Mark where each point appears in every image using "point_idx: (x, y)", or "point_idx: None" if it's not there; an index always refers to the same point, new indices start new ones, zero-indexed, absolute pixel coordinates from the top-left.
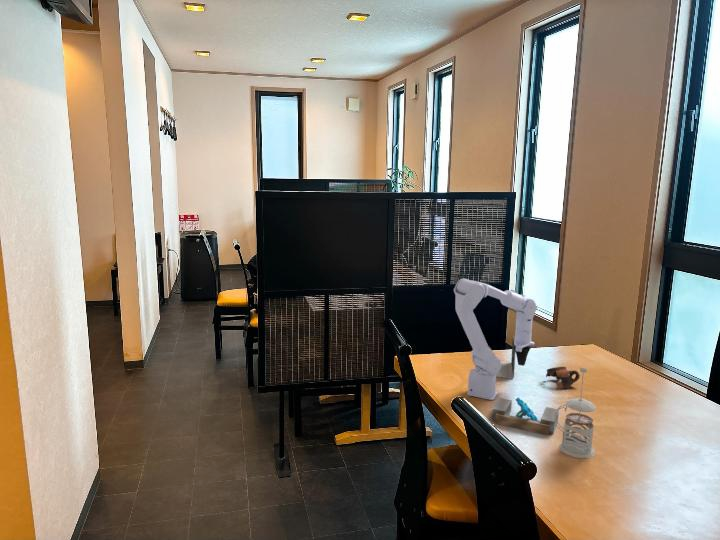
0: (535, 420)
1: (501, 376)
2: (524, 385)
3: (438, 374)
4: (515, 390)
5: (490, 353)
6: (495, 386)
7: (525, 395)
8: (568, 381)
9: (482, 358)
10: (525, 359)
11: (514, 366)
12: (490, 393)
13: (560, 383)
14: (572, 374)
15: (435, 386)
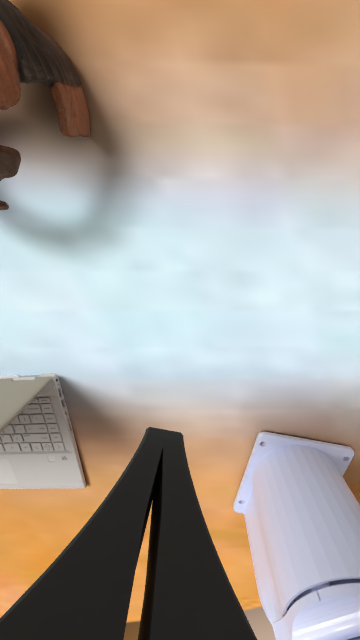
0: None
1: (67, 424)
2: (122, 326)
3: (141, 587)
4: (204, 364)
5: None
6: (318, 480)
7: (256, 321)
8: (15, 13)
9: None
10: (195, 496)
11: (11, 416)
12: (341, 475)
13: (67, 99)
14: None
15: (251, 590)
